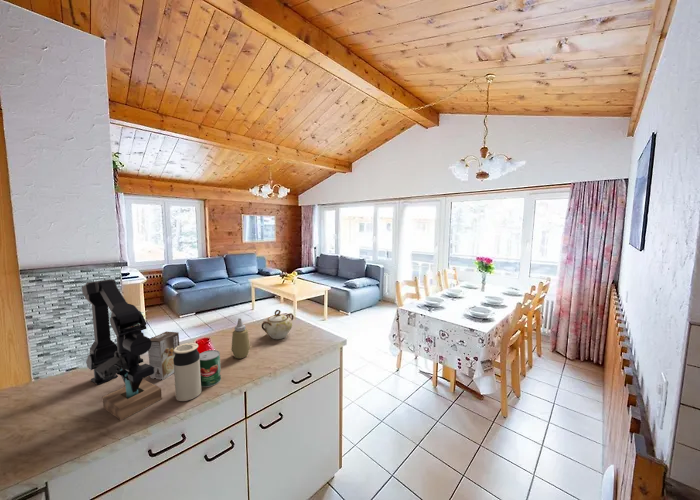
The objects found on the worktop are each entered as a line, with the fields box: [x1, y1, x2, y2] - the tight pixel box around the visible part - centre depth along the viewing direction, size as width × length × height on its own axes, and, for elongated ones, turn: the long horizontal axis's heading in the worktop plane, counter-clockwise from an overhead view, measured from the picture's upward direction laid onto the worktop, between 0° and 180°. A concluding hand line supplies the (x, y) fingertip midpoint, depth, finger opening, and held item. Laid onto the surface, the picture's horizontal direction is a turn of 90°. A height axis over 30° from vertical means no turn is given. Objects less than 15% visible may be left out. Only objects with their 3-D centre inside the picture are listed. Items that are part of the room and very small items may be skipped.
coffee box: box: [147, 331, 180, 381], centre depth 112 cm, size 9×6×16 cm
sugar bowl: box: [261, 309, 295, 340], centre depth 149 cm, size 20×15×15 cm
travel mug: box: [173, 342, 202, 402], centre depth 98 cm, size 8×8×18 cm
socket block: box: [101, 378, 163, 421], centre depth 94 cm, size 12×12×4 cm
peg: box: [124, 373, 138, 399], centre depth 94 cm, size 3×3×9 cm
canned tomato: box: [199, 349, 222, 388], centre depth 107 cm, size 8×8×11 cm
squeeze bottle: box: [230, 317, 251, 359], centre depth 127 cm, size 8×8×18 cm
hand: (132, 390), depth 94 cm, fingers closed on peg, 3 cm apart
